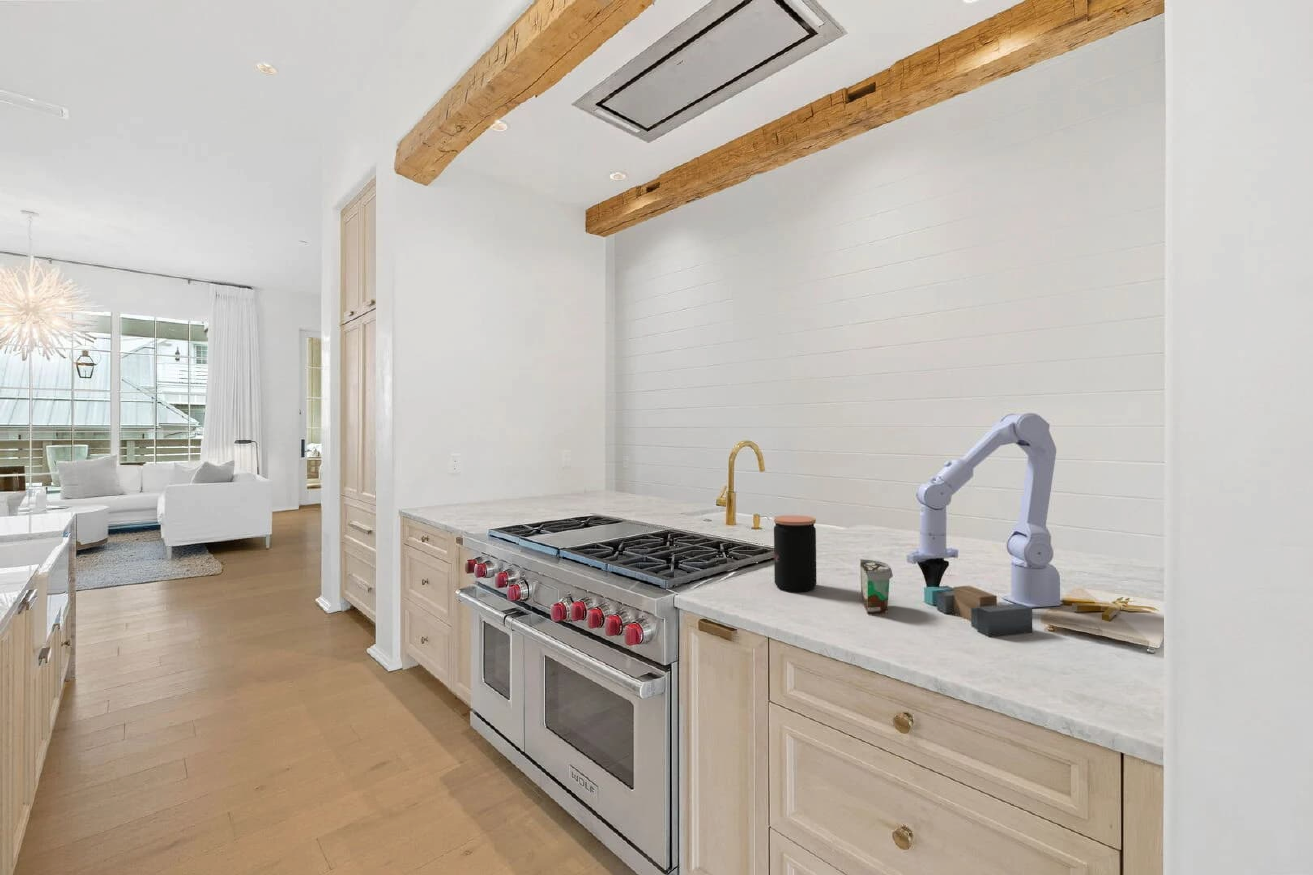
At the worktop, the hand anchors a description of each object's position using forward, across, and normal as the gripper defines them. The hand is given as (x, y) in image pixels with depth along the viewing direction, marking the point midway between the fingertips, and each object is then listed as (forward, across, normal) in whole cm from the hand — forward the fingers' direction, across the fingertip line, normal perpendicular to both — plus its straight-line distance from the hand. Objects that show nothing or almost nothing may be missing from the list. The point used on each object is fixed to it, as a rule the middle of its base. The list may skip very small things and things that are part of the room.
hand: (932, 590), depth 140 cm
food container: (+3, -16, +1) cm, 16 cm away
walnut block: (+2, -3, -14) cm, 14 cm away
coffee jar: (+3, -22, +24) cm, 32 cm away
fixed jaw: (+2, -4, -20) cm, 21 cm away
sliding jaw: (+2, -1, -5) cm, 6 cm away
